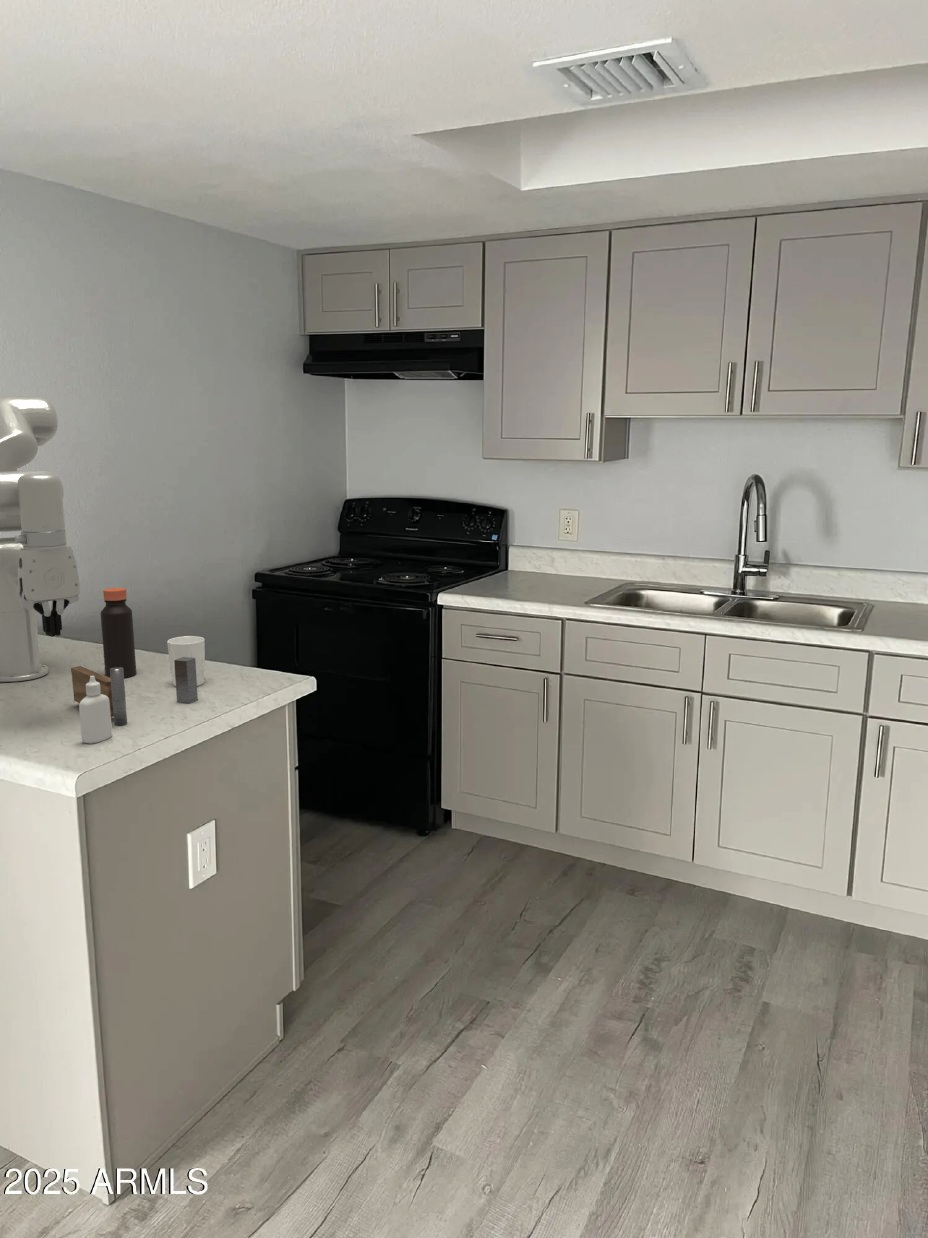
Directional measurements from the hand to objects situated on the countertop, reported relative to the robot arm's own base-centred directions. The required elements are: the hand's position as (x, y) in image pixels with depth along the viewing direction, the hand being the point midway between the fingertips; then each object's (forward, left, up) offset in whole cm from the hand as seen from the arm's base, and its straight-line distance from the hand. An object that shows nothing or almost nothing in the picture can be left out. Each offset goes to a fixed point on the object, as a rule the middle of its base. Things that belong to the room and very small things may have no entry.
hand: (53, 634), depth 185 cm
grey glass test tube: (+13, +2, -17) cm, 21 cm away
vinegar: (-11, +32, -17) cm, 38 cm away
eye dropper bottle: (+15, -7, -17) cm, 24 cm away
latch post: (+16, +19, -17) cm, 30 cm away
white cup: (+8, +31, -17) cm, 36 cm away
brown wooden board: (+3, +6, -16) cm, 17 cm away
